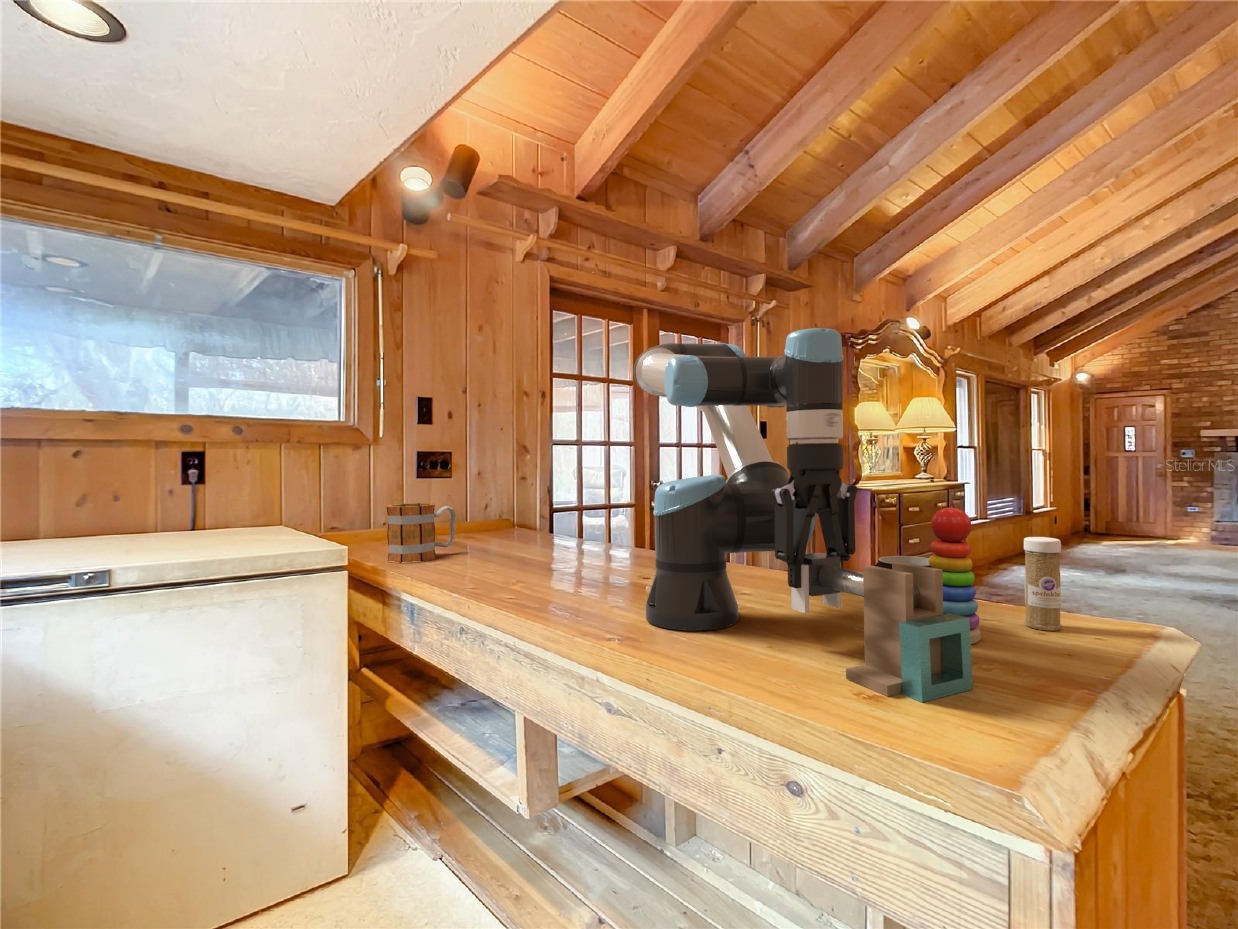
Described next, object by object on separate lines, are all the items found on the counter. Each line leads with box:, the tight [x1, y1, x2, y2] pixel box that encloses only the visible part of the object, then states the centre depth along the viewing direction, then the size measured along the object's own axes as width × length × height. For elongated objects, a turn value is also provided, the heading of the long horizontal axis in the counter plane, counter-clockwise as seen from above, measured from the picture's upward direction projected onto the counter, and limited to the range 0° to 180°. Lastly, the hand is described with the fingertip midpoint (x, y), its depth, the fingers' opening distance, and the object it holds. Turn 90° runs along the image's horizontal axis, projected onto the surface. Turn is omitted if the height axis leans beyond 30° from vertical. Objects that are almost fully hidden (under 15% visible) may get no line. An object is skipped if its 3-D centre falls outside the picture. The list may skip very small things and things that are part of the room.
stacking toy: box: [929, 507, 982, 645], centre depth 86 cm, size 8×8×19 cm
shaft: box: [803, 552, 920, 608], centre depth 78 cm, size 18×5×5 cm, turn 24°
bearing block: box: [845, 562, 943, 697], centre depth 71 cm, size 6×12×13 cm, turn 114°
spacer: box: [899, 613, 974, 703], centre depth 67 cm, size 2×8×8 cm, turn 114°
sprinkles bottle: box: [1023, 536, 1062, 632], centre depth 90 cm, size 5×5×14 cm
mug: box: [386, 502, 456, 562], centre depth 168 cm, size 20×14×15 cm
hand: (816, 607), depth 84 cm, fingers closed on shaft, 5 cm apart
